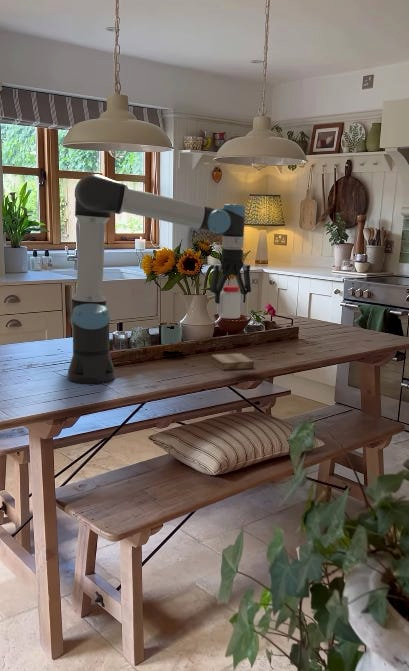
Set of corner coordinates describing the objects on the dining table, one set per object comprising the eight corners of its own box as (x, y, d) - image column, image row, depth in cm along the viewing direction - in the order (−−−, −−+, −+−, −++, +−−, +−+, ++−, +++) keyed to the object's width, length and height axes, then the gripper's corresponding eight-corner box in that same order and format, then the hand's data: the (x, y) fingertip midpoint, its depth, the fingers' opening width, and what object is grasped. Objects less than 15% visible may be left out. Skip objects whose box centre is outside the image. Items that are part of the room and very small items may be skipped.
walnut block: (222, 371, 215) (222, 363, 214) (210, 362, 226) (210, 354, 226) (253, 369, 219) (253, 361, 218) (240, 361, 230) (240, 353, 229)
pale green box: (178, 354, 235) (178, 329, 233) (158, 353, 236) (159, 327, 234) (182, 350, 242) (183, 325, 240) (164, 348, 244) (164, 324, 242)
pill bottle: (235, 314, 226) (236, 284, 224) (243, 318, 219) (245, 287, 217) (215, 315, 224) (216, 285, 221) (223, 318, 216) (224, 288, 214)
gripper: (209, 249, 209) (207, 314, 214) (263, 249, 216) (259, 312, 221) (201, 247, 216) (199, 311, 221) (254, 247, 223) (250, 309, 228)
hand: (229, 311), depth 221 cm, fingers closed on pill bottle, 8 cm apart
